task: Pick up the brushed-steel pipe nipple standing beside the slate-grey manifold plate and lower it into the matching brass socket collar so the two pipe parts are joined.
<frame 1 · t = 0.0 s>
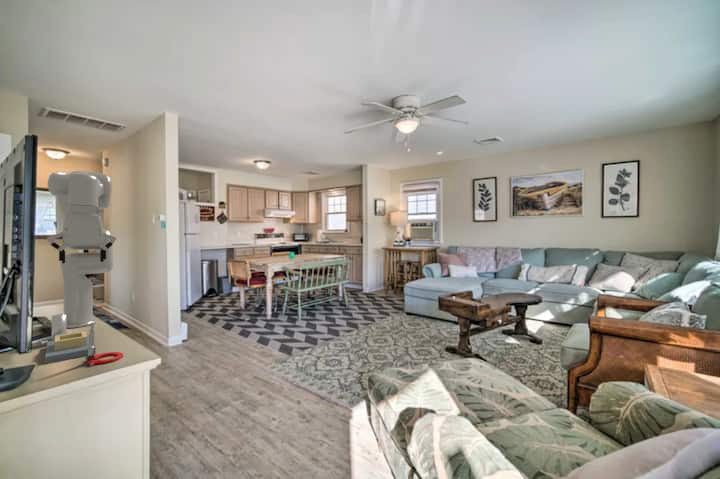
hand: (83, 262, 104), 31 cm above the tv stand, tool pointing down, fingers open, 9 cm apart
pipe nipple: (59, 341, 116), on the tv stand
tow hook: (105, 360, 101), on the tv stand
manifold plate: (70, 350, 108), on the tv stand
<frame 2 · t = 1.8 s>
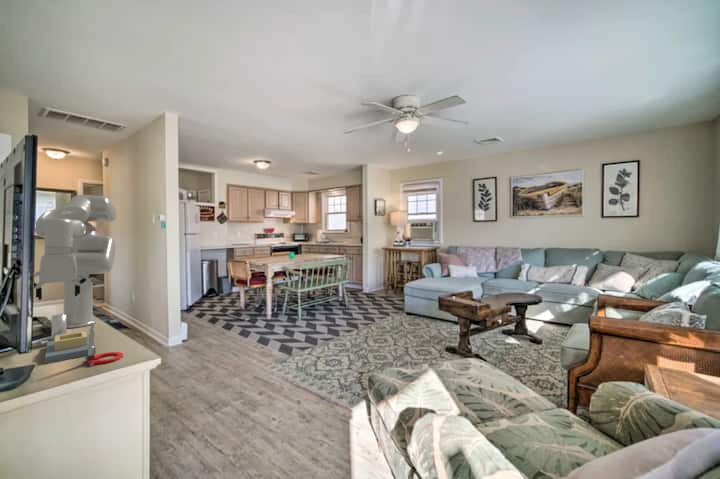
hand: (58, 297, 115), 17 cm above the tv stand, tool pointing down, fingers open, 9 cm apart
nothing on the tv stand moved.
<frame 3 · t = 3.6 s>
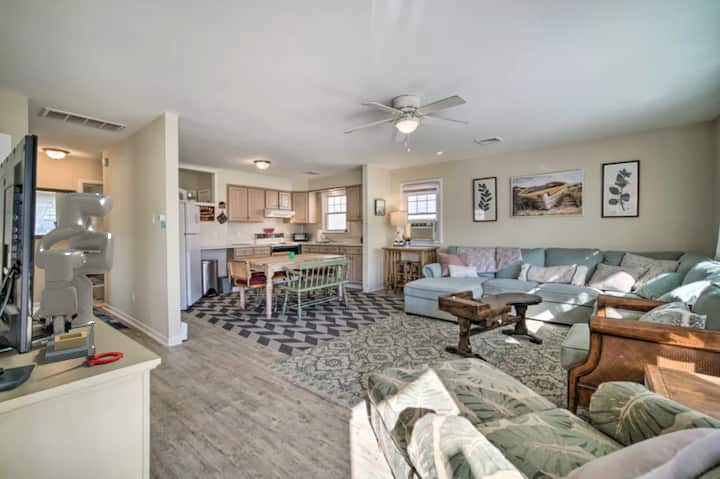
hand: (59, 332, 116), 3 cm above the tv stand, tool pointing down, fingers closed on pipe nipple, 4 cm apart
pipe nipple: (59, 341, 116), on the tv stand, touching gripper
everything else where it was.
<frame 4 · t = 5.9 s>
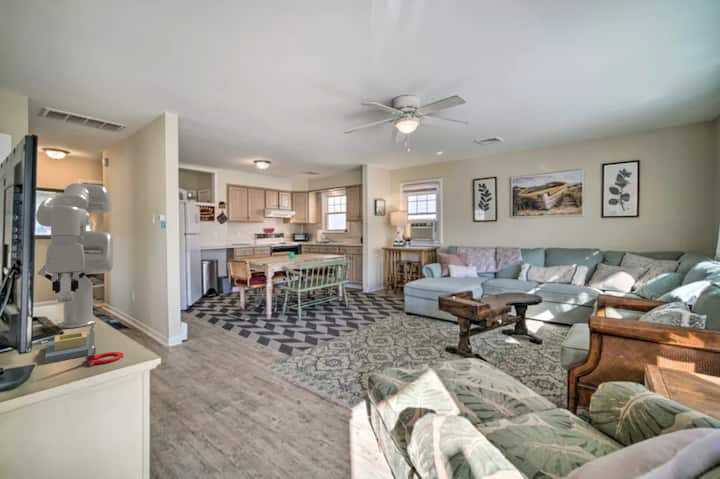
hand: (65, 291, 110), 20 cm above the tv stand, tool pointing down, fingers closed on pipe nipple, 4 cm apart
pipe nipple: (65, 300, 110), point 17 cm above the tv stand, touching gripper
everything else where it was.
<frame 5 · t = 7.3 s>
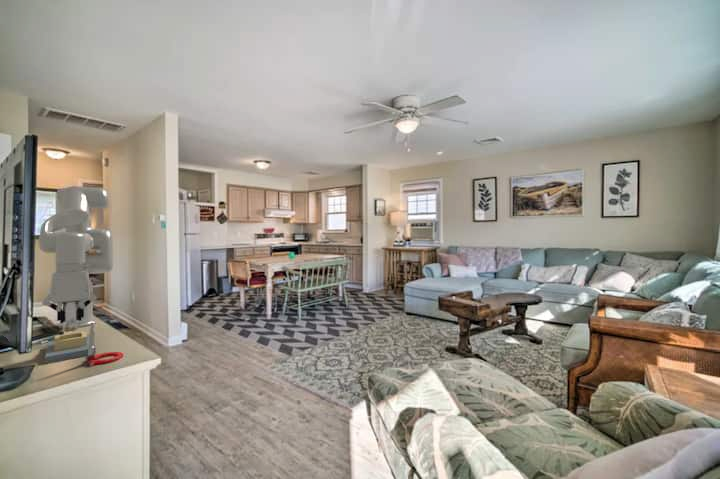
hand: (70, 320, 107), 11 cm above the tv stand, tool pointing down, fingers closed on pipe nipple, 4 cm apart
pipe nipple: (70, 330, 107), point 7 cm above the tv stand, touching gripper
everything else where it was.
when the fingers open (6 cm above the tv stand, at t = 8.5 s): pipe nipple stays where it is, resting on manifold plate.
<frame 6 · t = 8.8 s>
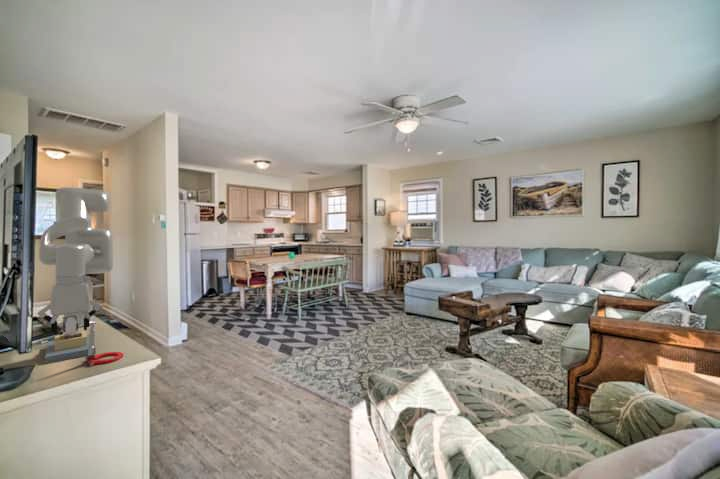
hand: (70, 331, 108), 7 cm above the tv stand, tool pointing down, fingers open, 7 cm apart
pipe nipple: (70, 344, 108), point 2 cm above the tv stand, touching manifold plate
everything else where it was.
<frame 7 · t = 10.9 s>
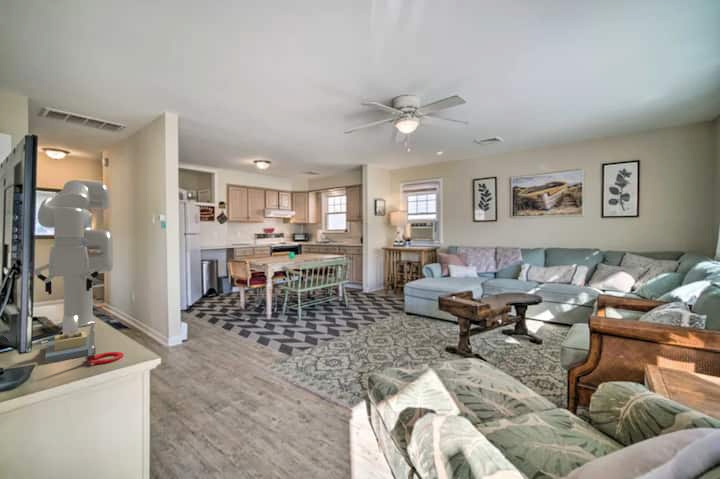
hand: (69, 292, 108), 20 cm above the tv stand, tool pointing down, fingers open, 9 cm apart
nothing on the tv stand moved.
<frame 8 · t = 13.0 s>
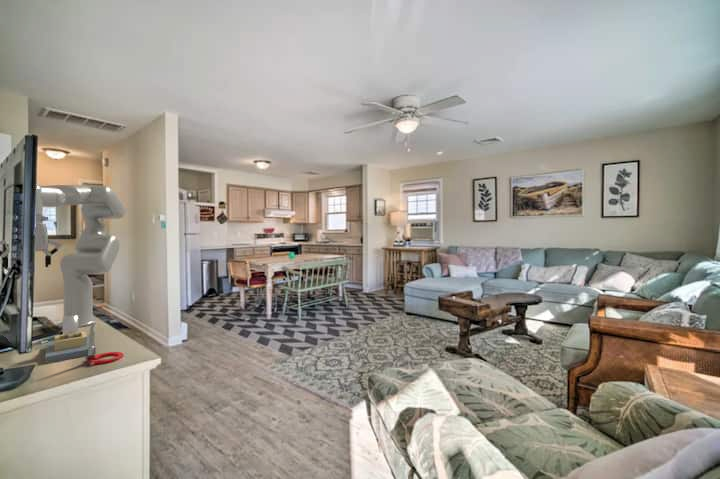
hand: (27, 267, 110), 28 cm above the tv stand, tool pointing down, fingers open, 9 cm apart
nothing on the tv stand moved.
at the end: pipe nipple 0.1 cm off-centre on the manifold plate, point 2.0 cm above the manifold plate's base; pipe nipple tilted 0°; the gripper is holding nothing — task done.
